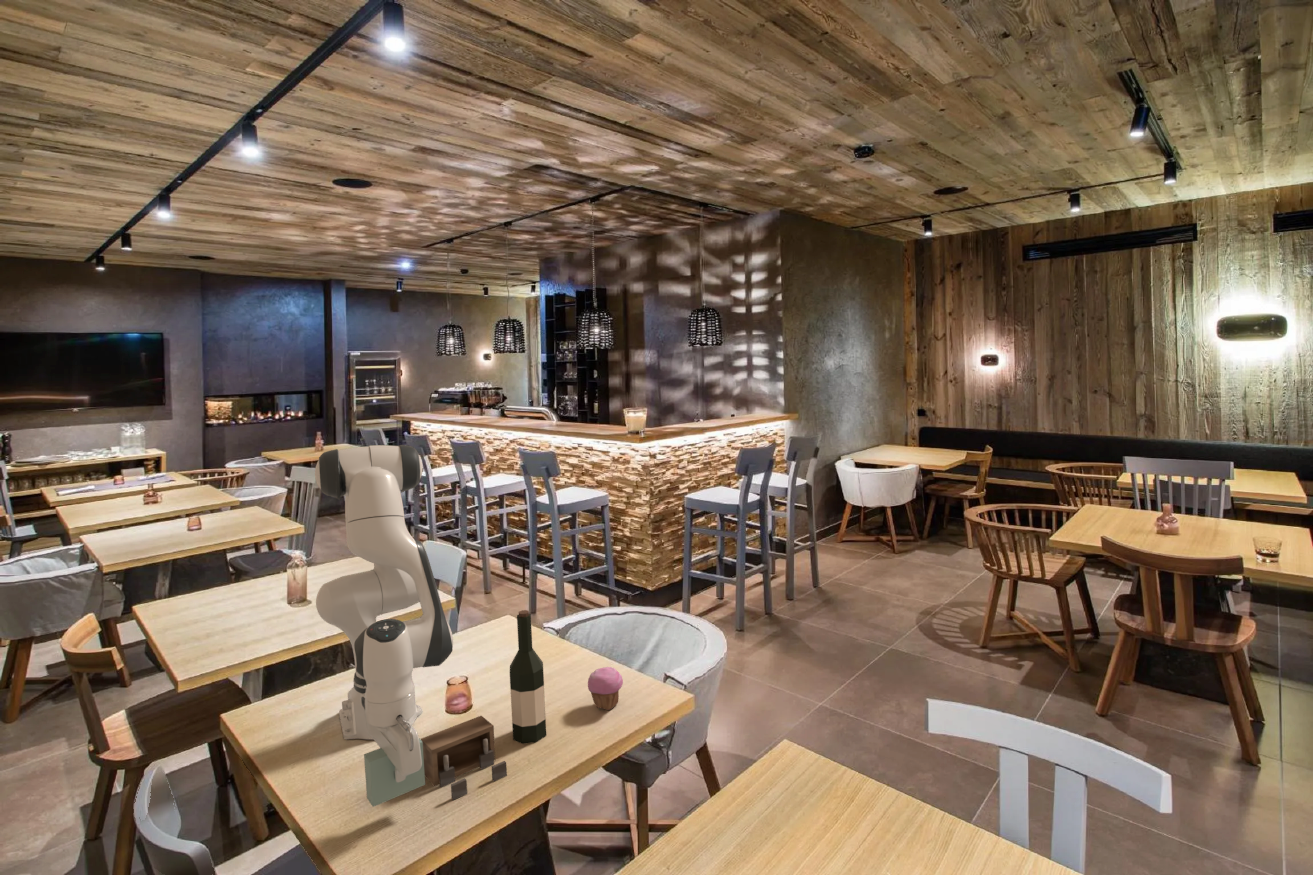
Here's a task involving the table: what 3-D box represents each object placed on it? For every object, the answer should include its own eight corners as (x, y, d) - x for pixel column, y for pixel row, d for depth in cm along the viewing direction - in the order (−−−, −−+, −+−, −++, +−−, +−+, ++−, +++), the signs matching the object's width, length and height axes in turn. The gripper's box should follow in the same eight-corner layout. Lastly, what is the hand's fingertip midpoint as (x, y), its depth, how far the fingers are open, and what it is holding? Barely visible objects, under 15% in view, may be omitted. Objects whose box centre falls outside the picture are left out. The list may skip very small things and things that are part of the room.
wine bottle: (539, 745, 154) (533, 619, 151) (506, 742, 156) (499, 617, 153) (552, 726, 163) (547, 606, 160) (520, 723, 164) (514, 604, 161)
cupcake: (628, 701, 174) (627, 664, 173) (614, 717, 166) (613, 678, 165) (597, 696, 177) (596, 659, 176) (582, 711, 169) (581, 673, 168)
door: (366, 798, 129) (363, 754, 127) (418, 776, 135) (416, 734, 134) (374, 810, 125) (371, 765, 124) (427, 787, 132) (425, 744, 130)
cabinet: (423, 773, 145) (420, 738, 144) (483, 748, 154) (481, 715, 153) (448, 802, 135) (446, 764, 134) (511, 773, 144) (509, 738, 143)
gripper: (428, 722, 123) (432, 792, 124) (389, 682, 138) (393, 745, 140) (393, 735, 119) (398, 807, 120) (357, 692, 134) (361, 757, 136)
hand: (395, 773), depth 130 cm, fingers closed on door, 3 cm apart
